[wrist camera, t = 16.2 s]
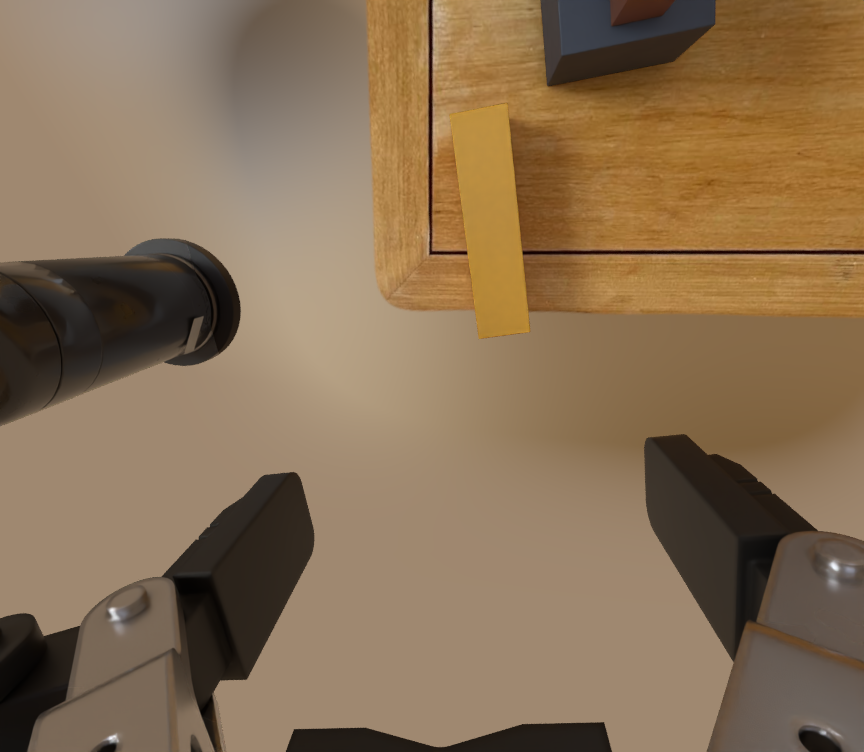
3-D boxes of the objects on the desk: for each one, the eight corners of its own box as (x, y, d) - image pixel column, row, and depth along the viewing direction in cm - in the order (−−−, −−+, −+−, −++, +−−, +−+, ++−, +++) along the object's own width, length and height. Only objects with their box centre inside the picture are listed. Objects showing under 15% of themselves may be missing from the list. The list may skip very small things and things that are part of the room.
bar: (478, 329, 40) (478, 339, 36) (452, 127, 36) (449, 114, 32) (525, 323, 39) (530, 332, 36) (504, 117, 35) (507, 102, 31)
